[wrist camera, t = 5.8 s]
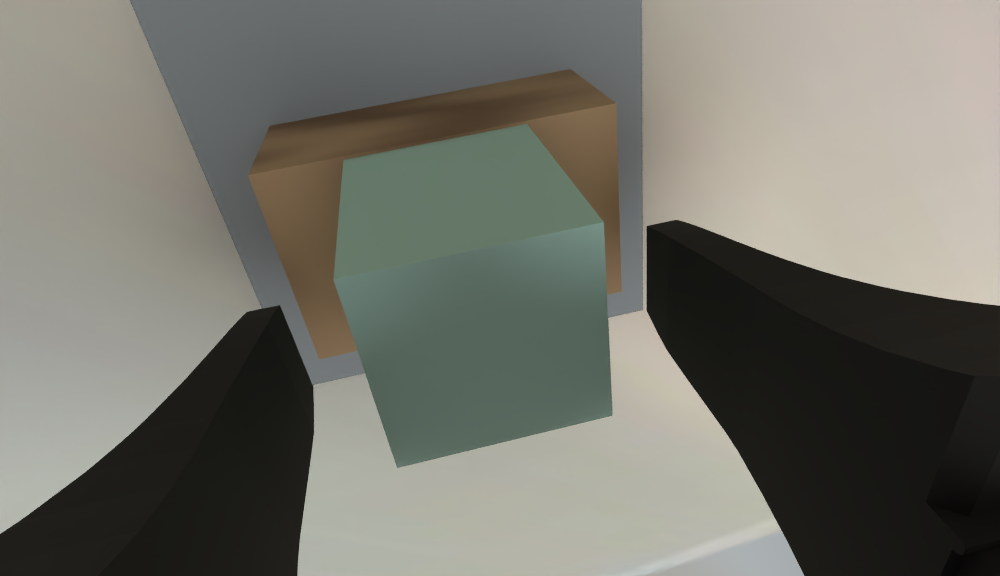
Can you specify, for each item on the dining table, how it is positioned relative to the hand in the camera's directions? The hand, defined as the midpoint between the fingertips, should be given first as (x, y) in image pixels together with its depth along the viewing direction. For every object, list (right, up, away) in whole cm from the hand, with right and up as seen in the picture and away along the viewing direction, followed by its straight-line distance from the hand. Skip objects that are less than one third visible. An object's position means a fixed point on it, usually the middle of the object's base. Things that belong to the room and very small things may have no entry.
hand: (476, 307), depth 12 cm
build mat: (-1, +4, +6) cm, 7 cm away
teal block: (-1, +2, +2) cm, 3 cm away
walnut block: (-1, +3, +5) cm, 6 cm away
